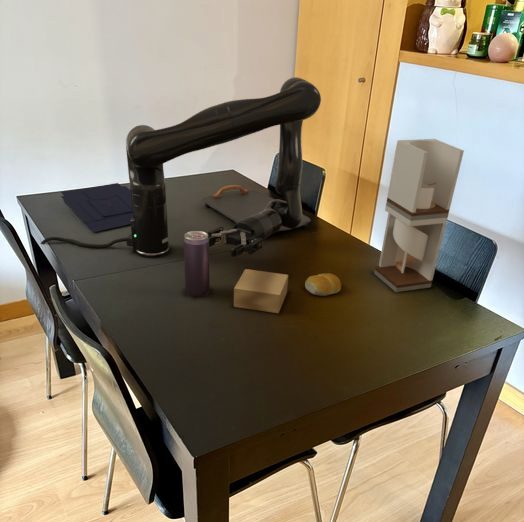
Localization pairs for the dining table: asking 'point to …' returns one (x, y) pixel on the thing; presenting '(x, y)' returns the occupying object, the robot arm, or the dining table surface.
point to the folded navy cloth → (101, 205)
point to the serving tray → (242, 204)
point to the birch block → (260, 291)
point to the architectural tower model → (417, 211)
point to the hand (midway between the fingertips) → (218, 248)
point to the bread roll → (323, 284)
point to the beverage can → (196, 263)
